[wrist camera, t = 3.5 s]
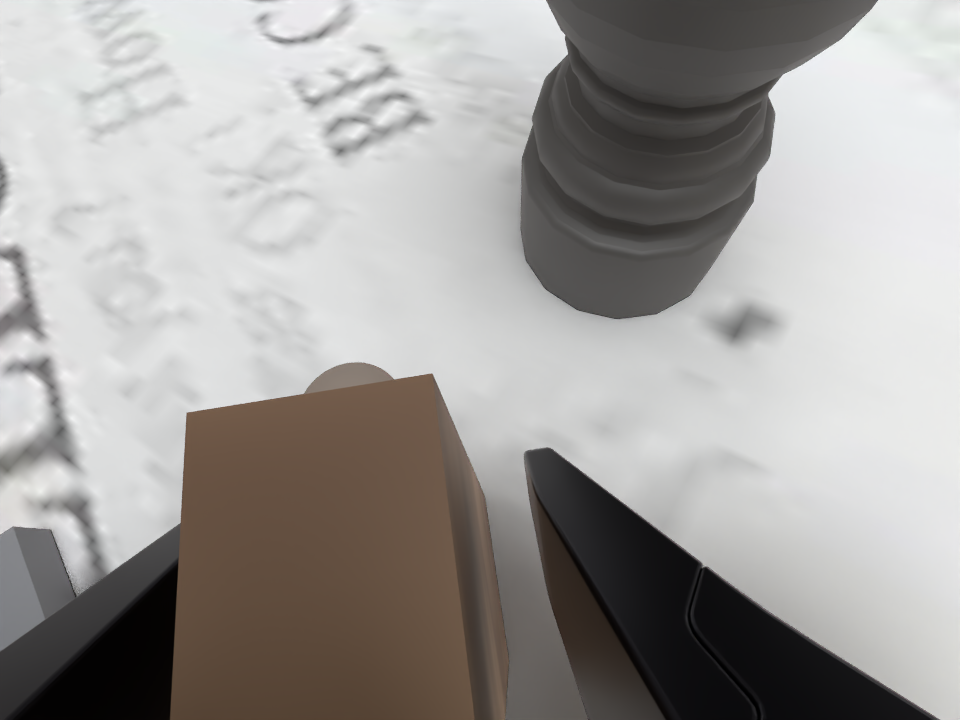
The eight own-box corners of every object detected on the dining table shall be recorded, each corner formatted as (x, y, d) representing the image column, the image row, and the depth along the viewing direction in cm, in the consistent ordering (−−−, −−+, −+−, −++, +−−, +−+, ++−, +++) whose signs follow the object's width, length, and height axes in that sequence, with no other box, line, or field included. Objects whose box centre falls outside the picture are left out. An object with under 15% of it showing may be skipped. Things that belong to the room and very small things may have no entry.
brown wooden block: (508, 660, 13) (494, 880, 4) (408, 676, 13) (159, 932, 4) (480, 463, 15) (422, 295, 6) (391, 477, 15) (190, 331, 6)
